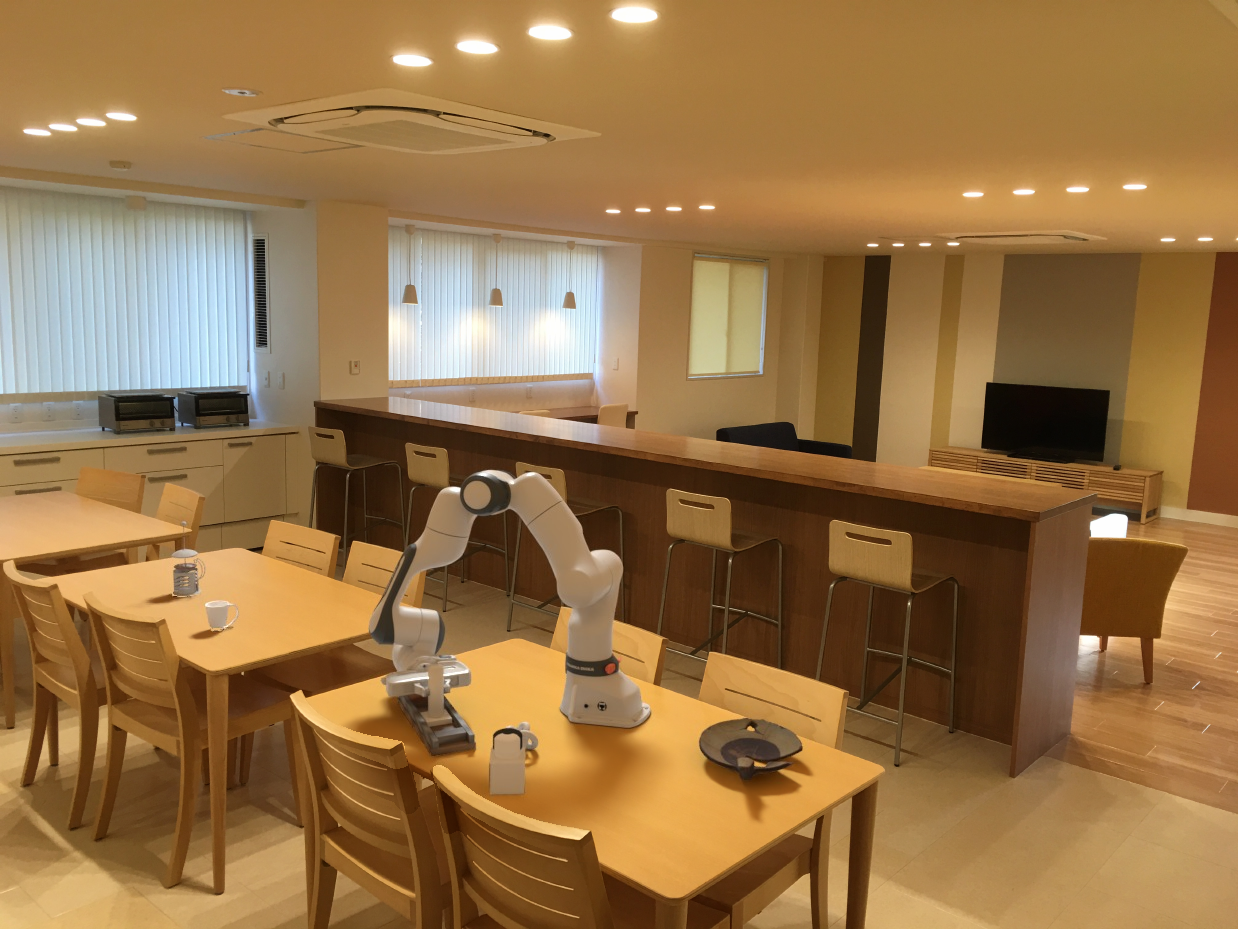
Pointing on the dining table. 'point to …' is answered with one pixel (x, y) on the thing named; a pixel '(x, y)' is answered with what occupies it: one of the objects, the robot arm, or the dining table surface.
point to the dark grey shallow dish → (749, 746)
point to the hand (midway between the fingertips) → (436, 691)
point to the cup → (219, 614)
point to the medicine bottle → (507, 763)
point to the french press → (186, 573)
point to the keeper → (436, 697)
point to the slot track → (437, 727)
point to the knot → (526, 736)
